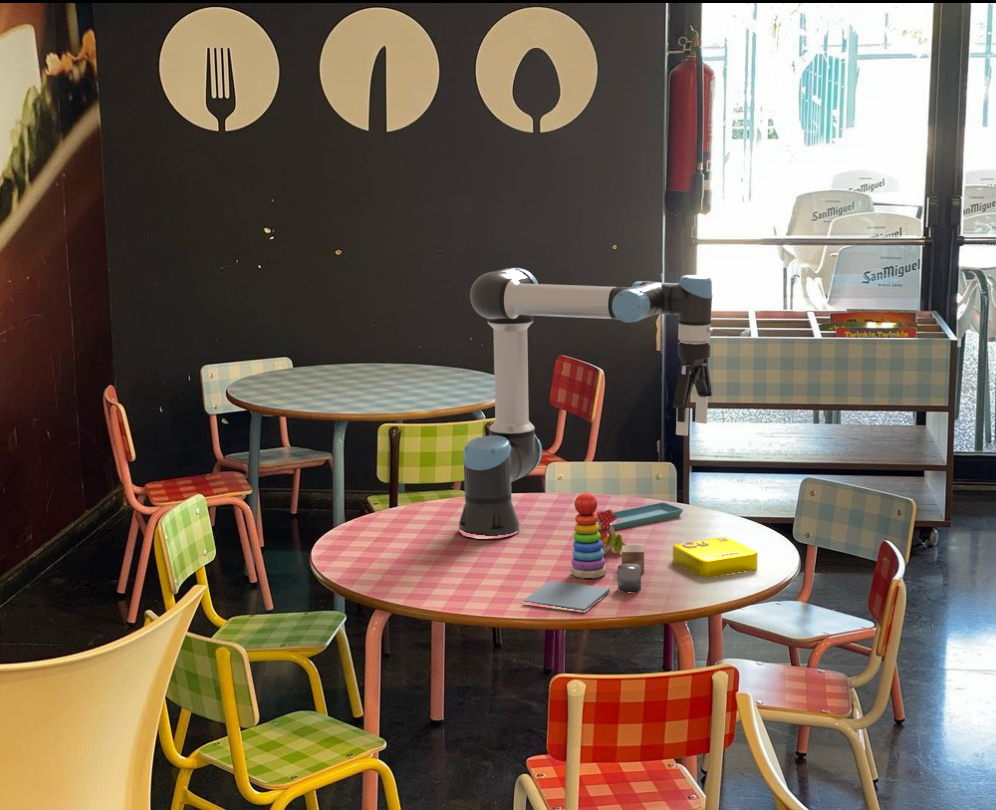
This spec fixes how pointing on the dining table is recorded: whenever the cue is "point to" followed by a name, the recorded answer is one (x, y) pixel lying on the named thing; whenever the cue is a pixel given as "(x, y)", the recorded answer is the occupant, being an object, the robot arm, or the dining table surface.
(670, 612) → the dining table surface
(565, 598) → the pad
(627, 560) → the walnut cube
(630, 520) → the rectangular tray
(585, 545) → the stacking toy
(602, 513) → the bird rattle
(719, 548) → the element tile
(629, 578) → the graphite cylinder
